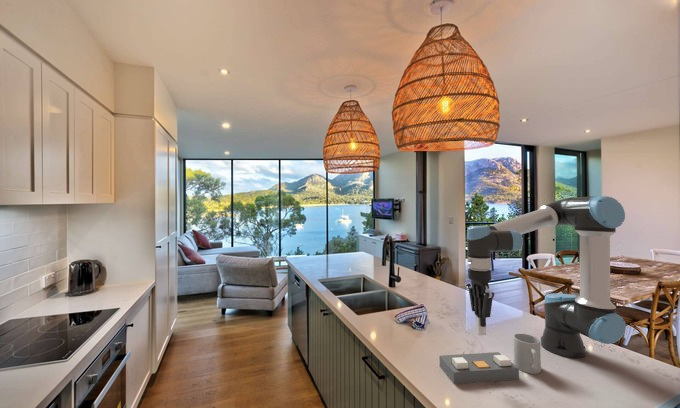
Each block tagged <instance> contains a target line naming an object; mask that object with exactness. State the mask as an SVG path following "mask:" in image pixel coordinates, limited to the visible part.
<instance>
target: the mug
mask: <svg viewBox="0 0 680 408" xmlns="http://www.w3.org/2000/svg"><path fill="white" fill-rule="evenodd" d="M541 359H542V357H541V339H539V338H538V337H535V336H533V335H532V334H531V335H530V334H526V333H515V334H514V335H513V364H514V365H516V366H517V367H518V368H519V371H521V372H523V373H527V374H530V375H531V374H532V375H535V374H536V375H537V374H540V373H541V371H542V362H541Z"/></svg>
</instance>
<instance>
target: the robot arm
mask: <svg viewBox="0 0 680 408" xmlns="http://www.w3.org/2000/svg"><path fill="white" fill-rule="evenodd" d="M625 218H626V212H625V209H624V206H623V205H622V204H621V202H619V200H618V199H615V197H612V196H607V195H605V196H603V195H594V196H580V197H579V196H576V197H567V198H563V199H560V200H559V199H558V200H557V201H553V202H550V203H548V204H545V205H541V206H539V207H538V209H537V210H534V211H531V212H527V213H525V214H521V215H517V216H516V217H512V218H508V219H506V220H503V221H499V222H496V223H493V224H490V225H470V226H468V227H467V230H466V243H467V244H466V246H467V267H468V269H467V275H468V276H467V278H468V279H469V280H470V283H467V285H466V286H467V289H468V293H469V294H468V295H469V300H470V307H471V308H470V309H471V311H472V312H473V313H474V315H475V327H476V329H475V330H476V335H478V336H486V335H487V318H491V314H492V313H491V312H492V306H493V299H494V297H495V292H493V291H491V290H490V285H489V283H490V281H492V270H491V269H492V257H491V255H492V253H494V252H497V253H498V252H499V253H500V252H516V251H517V252H518V251H520V250H521V249H522V248H523V246H524V238H523V236H522V235H524V234H527V233H531V232H533V231H536V230H539V229H542V228H546V227H548V228H554V227H557V226H574V232H576V233H577V234H578V235H579V296H577V295H575V294H569V293H553V292H552V293H547V294H545V296H544V302H543V305H544V330H543V333H542V335H541V337H540V346H541V347H542V348H544V349H545V350H546V351H548V352H551V353H552V354H556V355H558V356H562V357H566V358H572V359H574V358H575V359H577V358H579V359H580V358H584V357H586V356H587V350H586V346H585V345H584V341H583V339H582V336H581V335H583V336H585V337H587V338H589V339H590V340H592V341H595V342H599V343H601V344H605V345H611V344H615V343H616V342H619V340H620V339H621V338H623V336H624V334H625V332H626V326H627V325H626V321H625V319H624V318H623V317H622V316H621V315H620V314H618V313H617V307H616V305H615V304H614V303H613V302H612V301H611V245H610V244H611V237H612V236H613V235H614V234H616V233H617V231H616V229H617V228H619V227H620V226H622V225H623V223H624V222H625Z"/></svg>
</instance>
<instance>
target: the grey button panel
mask: <svg viewBox="0 0 680 408" xmlns="http://www.w3.org/2000/svg"><path fill="white" fill-rule="evenodd" d="M438 359H439V367H440V369H441V370H442V371H443V372H444V373H445V374H446V376H447V377H448V379H449V380H450V381H451V382H452V384H454V385H458V384H460V385H461V384H475V383H487V382H502V381H503V382H504V381H518V380H520V370H519V368H518V367H517V366H516V365H514V362H511V359H510V358H509V357H507V355H505V354H502V353H500V352H498V351H496V352H495V351H494V352H482V353H481V352H480V353H479V352H478V353H462V354H445V355H444V354H443V355H439V358H438ZM474 361H484V362H485V363H486V364H487V365H489V366H490V368H485V369H478V368H477V367H476V366H475V365H474V364H473V362H474Z"/></svg>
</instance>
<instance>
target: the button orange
mask: <svg viewBox="0 0 680 408" xmlns="http://www.w3.org/2000/svg"><path fill="white" fill-rule="evenodd" d="M473 364H474V365H475V366H476V367H477V368H478V369H485V368H490V366H489V365H487V364H486V363H485V362H484V361H474V362H473Z"/></svg>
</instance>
